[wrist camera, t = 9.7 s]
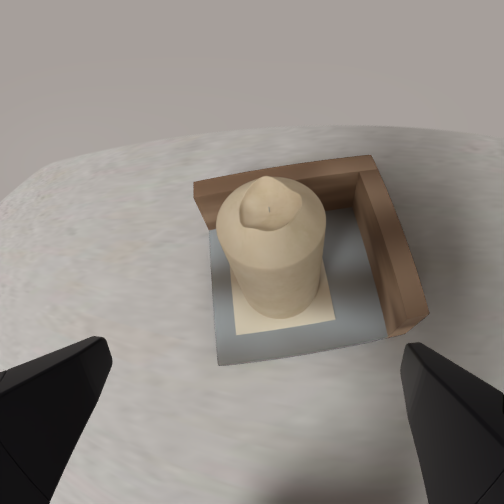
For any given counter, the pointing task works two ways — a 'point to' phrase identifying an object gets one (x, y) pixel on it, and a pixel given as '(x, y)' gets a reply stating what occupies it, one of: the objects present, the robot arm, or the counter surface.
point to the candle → (274, 243)
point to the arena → (322, 268)
